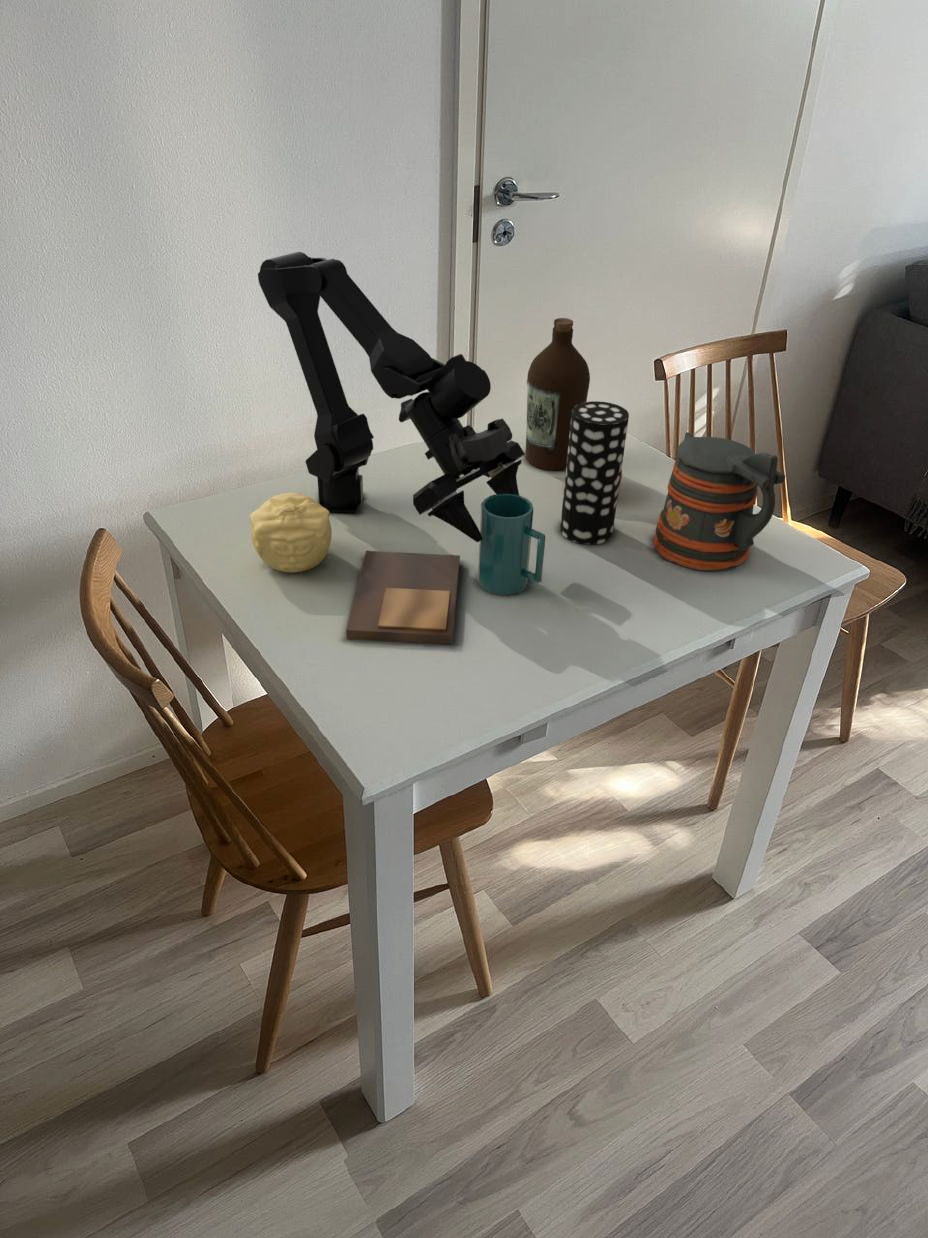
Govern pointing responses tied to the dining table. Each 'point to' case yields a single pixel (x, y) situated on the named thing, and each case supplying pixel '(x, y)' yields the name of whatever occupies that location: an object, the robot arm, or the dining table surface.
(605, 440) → the spotted tube
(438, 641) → the board
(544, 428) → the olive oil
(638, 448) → the dining table surface
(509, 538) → the teal coffee mug
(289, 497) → the sculpture
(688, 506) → the beer stein
